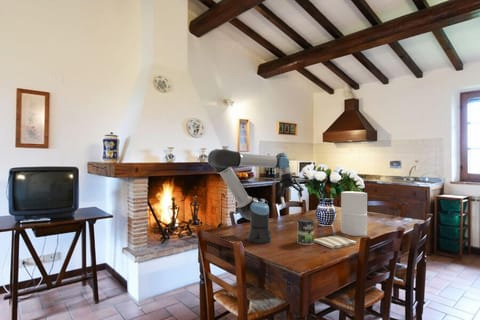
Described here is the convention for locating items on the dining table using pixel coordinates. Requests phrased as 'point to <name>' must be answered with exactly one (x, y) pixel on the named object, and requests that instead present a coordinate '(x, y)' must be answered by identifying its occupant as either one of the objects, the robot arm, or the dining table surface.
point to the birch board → (334, 241)
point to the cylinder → (354, 213)
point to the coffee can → (305, 231)
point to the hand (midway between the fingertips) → (292, 204)
